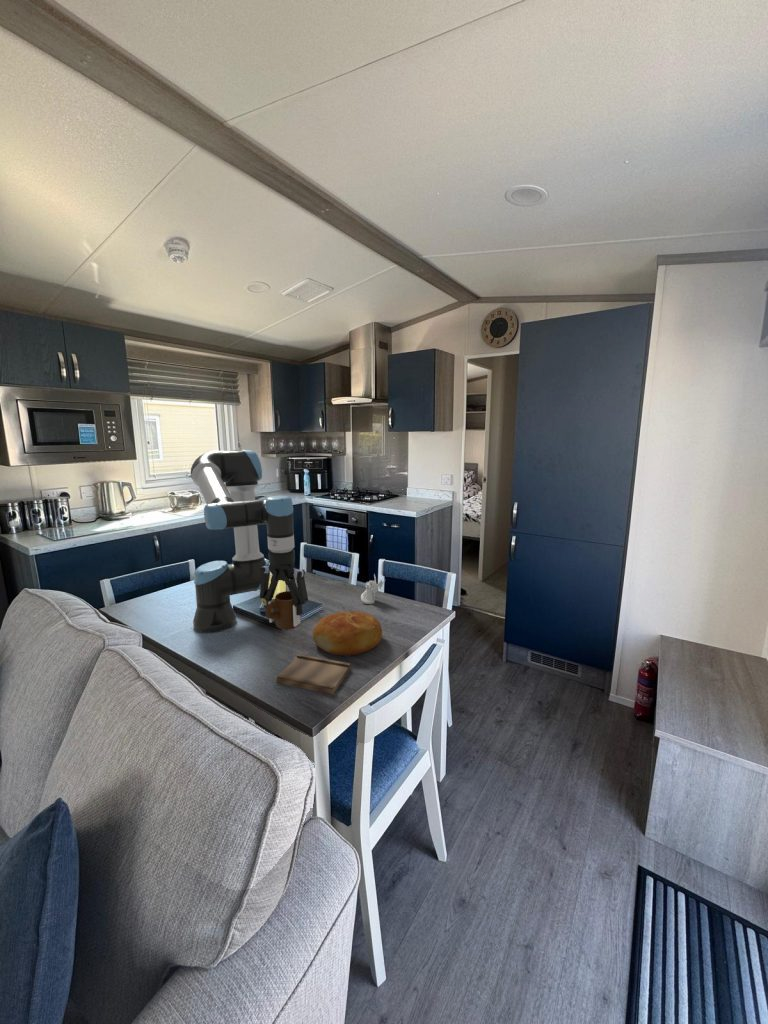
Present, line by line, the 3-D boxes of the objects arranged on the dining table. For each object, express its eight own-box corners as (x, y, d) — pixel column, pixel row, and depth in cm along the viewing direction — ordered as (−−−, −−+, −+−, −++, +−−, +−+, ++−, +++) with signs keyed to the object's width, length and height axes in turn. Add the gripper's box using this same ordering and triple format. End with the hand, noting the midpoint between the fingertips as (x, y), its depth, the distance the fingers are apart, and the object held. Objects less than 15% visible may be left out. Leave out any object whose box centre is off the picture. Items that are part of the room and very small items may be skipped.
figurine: (358, 603, 180) (357, 576, 178) (365, 596, 187) (365, 570, 185) (381, 607, 177) (382, 580, 174) (388, 600, 184) (388, 573, 181)
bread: (334, 622, 163) (334, 598, 161) (391, 634, 154) (392, 608, 152) (301, 651, 143) (300, 623, 141) (365, 666, 134) (364, 637, 132)
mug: (275, 638, 122) (274, 608, 120) (258, 630, 126) (257, 600, 124) (305, 623, 132) (305, 595, 130) (289, 616, 136) (288, 588, 134)
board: (276, 682, 125) (276, 676, 125) (298, 659, 137) (298, 653, 137) (332, 694, 120) (332, 687, 119) (350, 669, 132) (350, 663, 132)
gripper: (243, 549, 124) (248, 623, 128) (306, 556, 117) (309, 633, 122) (258, 543, 131) (262, 612, 135) (319, 549, 124) (321, 622, 129)
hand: (284, 622), depth 128 cm, fingers closed on mug, 8 cm apart
